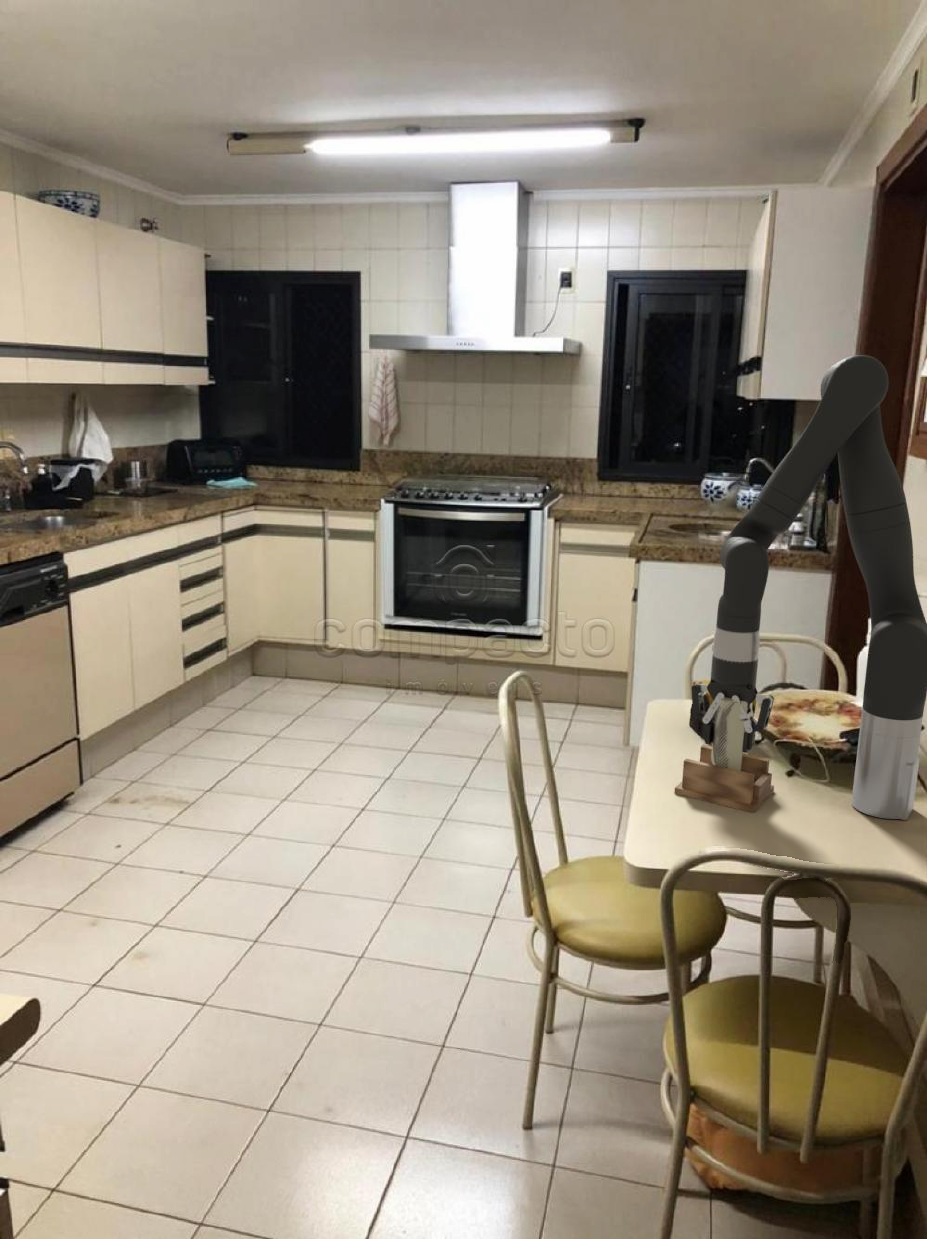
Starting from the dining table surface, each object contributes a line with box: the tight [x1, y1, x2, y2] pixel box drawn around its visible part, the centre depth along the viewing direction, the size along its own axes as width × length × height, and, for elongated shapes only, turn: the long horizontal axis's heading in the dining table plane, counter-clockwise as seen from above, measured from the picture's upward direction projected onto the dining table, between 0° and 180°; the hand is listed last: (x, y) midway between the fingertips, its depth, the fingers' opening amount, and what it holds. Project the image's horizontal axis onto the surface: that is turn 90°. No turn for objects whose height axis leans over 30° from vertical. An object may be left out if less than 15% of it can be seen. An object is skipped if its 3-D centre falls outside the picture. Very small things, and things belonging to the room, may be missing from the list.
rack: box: [673, 744, 775, 814], centre depth 168 cm, size 14×11×6 cm
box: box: [711, 698, 748, 771], centre depth 166 cm, size 5×4×13 cm
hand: (727, 746), depth 167 cm, fingers closed on box, 6 cm apart
